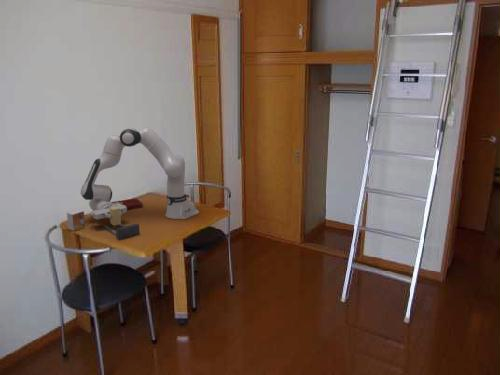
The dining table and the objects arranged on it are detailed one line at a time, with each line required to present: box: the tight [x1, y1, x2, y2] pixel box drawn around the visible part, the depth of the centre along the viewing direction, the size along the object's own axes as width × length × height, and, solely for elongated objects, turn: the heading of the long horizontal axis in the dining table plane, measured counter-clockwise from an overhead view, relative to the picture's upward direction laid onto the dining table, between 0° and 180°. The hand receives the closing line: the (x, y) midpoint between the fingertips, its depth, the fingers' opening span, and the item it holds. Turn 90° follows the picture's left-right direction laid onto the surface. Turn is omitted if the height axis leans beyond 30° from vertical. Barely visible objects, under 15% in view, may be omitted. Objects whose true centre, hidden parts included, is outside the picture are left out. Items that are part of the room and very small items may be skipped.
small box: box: [66, 209, 86, 232], centre depth 252 cm, size 8×6×10 cm
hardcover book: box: [114, 197, 144, 211], centre depth 291 cm, size 12×21×4 cm, turn 124°
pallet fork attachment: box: [102, 223, 140, 241], centre depth 250 cm, size 13×24×6 cm, turn 44°
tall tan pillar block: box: [109, 206, 122, 226], centre depth 252 cm, size 4×4×10 cm
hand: (115, 215), depth 251 cm, fingers closed on tall tan pillar block, 4 cm apart
